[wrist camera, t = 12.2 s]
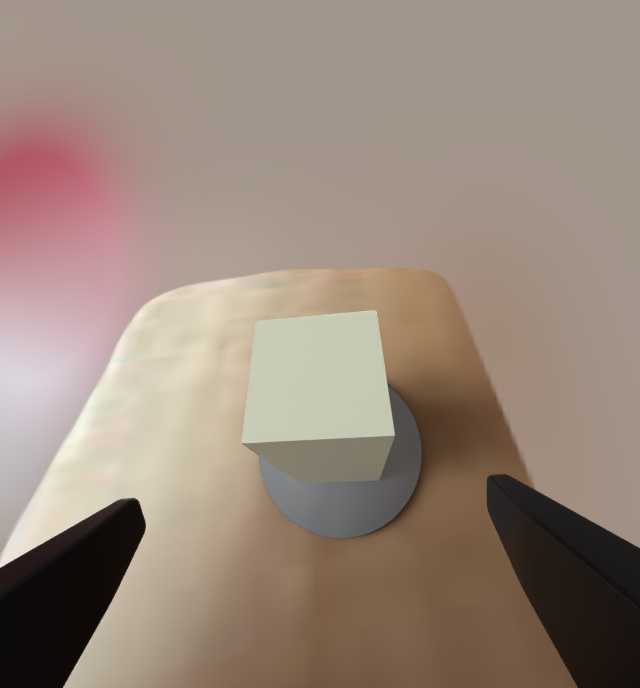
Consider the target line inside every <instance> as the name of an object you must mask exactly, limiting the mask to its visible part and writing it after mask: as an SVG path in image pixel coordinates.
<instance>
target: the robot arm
mask: <svg viewBox="0 0 640 688" xmlns="http://www.w3.org/2000/svg"><path fill="white" fill-rule="evenodd" d="M487 508H488V512H489V515H490V517H491V519H492V522H493V524H494V526H495V528H496V531H497V533H498V535H499V537H500V540H501V542H502V544H503V546H504V549H505V551H506V553H507V555H508V557H509V560H510V562H511V564H512V566H513V569H514V571H515V573H516V575H517V577H518V580H519V582H520V584H521V586H522V588H523V590H524V592H525V594H526V595H527V597H528V599H529V601H530V603H531V605H532V606H533V608H534V610H535V612H536V614H537V615H538V617H539V619H540V621H541V623H542V624H543V626H544V628H545V630H546V632H547V633H548V635H549V637H550V639H551V640H552V642H553V644H554V646H555V648H556V649H557V651H558V653H559V655H560V657H561V658H562V660H563V662H564V664H565V666H566V667H567V669H568V671H569V673H570V674H571V676H572V678H573V680H574V682H575V683H576V685H577V687H578V688H640V548H639V547H636V546H635V545H633V544H631V543H629V542H628V541H626V540H624V539H622V538H621V537H619V536H617V535H615V534H613V533H612V532H610V531H608V530H606V529H604V528H603V527H601V526H599V525H597V524H595V523H594V522H592V521H590V520H588V519H586V518H585V517H583V516H581V515H579V514H577V513H576V512H574V511H572V510H570V509H568V508H566V507H565V506H563V505H561V504H559V503H557V502H556V501H554V500H552V499H550V498H548V497H547V496H545V495H543V494H541V493H540V492H538V491H536V490H534V489H532V488H531V487H529V486H527V485H525V484H523V483H522V482H520V481H518V480H516V479H514V478H513V477H511V476H509V475H506V474H498V475H490V476H488V478H487ZM145 528H146V523H145V519H144V516H143V513H142V509H141V506H140V503H139V501H138V500H137V499H135V498H127V499H120V500H118V501H116V502H114V503H112V504H111V505H109V506H107V507H105V508H104V509H102V510H100V511H98V512H97V513H95V514H93V515H91V516H90V517H88V518H86V519H85V520H83V521H81V522H79V523H78V524H76V525H74V526H72V527H71V528H69V529H67V530H65V531H64V532H62V533H60V534H58V535H57V536H55V537H53V538H51V539H50V540H48V541H46V542H44V543H43V544H41V545H39V546H37V547H36V548H34V549H32V550H30V551H29V552H27V553H25V554H23V555H22V556H20V557H18V558H17V559H15V560H13V561H11V562H10V563H8V564H6V565H4V566H3V567H1V568H0V688H63V686H64V685H65V683H66V681H67V679H68V678H69V676H70V674H71V672H72V671H73V669H74V667H75V665H76V664H77V662H78V660H79V658H80V656H81V655H82V653H83V651H84V649H85V648H86V646H87V644H88V642H89V641H90V639H91V637H92V635H93V634H94V632H95V630H96V628H97V627H98V625H99V623H100V621H101V620H102V618H103V616H104V614H105V612H106V611H107V609H108V607H109V605H110V603H111V601H112V600H113V598H114V596H115V594H116V592H117V590H118V588H119V585H120V583H121V581H122V579H123V577H124V575H125V573H126V571H127V569H128V567H129V564H130V562H131V560H132V558H133V556H134V554H135V552H136V550H137V548H138V546H139V543H140V541H141V539H142V537H143V535H144V533H145Z"/></svg>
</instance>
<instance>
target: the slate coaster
mask: <svg viewBox="0 0 640 688" xmlns="http://www.w3.org/2000/svg"><path fill="white" fill-rule="evenodd" d="M387 386H388V385H387ZM388 392H389V399H390V406H391V412H392V419H393V425H394V432H395V437H394V440H393V443H392V446H391V448H390V451H389V454H388V457H387V460H386V463H385V465H384V468H383V471H382V474H381V477H380V480H379V481H354V482H327V483H299V482H298V481H296V480H295V479H293V478H292V477H290V476H289V475H288V474H286V473H285V472H283V471H282V470H280V469H279V468H277V467H276V466H274V465H273V464H271V463H270V462H268V461H267V460H265V459H264V458H262V457H261V456H259V462H260V469H261V474H262V477H263V481H264V484H265V486H266V488H267V491H268V493H269V495H270V496H271V498H272V500H273V501H274V503H275V504H276V505H277V507H278V508H279V509H280V510H281V512H282V513H283V514H284V515H285V516H287V517H288V518H289V519H290V520H291V521H292V522H294V523H295V524H297V525H298V526H300V527H301V528H303V529H305V530H307V531H309V532H311V533H315V534H318V535H321V536H325V537H332V538H350V537H356V536H361V535H364V534H367V533H370V532H373V531H375V530H376V529H378V528H380V527H382V526H384V525H385V524H386V523H388V522H389V521H391V520H392V519H393V518H394V517H395V516H396V515H397V514H398V513H399V512H400V511H401V510H402V509H403V507H404V506H405V505H406V503H407V502H408V501H409V499H410V497H411V495H412V493H413V491H414V489H415V487H416V484H417V481H418V478H419V474H420V469H421V460H422V448H421V440H420V434H419V431H418V428H417V424H416V422H415V420H414V417H413V415H412V413H411V411H410V410H409V408H408V407H407V405H406V403H405V402H404V401H403V400H402V399H401V397H400V396H399V395H398V394H397V393H396V392H395V391H394V390H393V389H392V388H390V387H389V386H388Z"/></svg>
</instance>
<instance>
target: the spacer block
mask: <svg viewBox="0 0 640 688" xmlns="http://www.w3.org/2000/svg"><path fill="white" fill-rule="evenodd" d="M394 437H395V432H394V425H393V419H392V412H391V406H390V399H389V392H388V386H387V379H386V372H385V366H384V359H383V352H382V346H381V339H380V333H379V326H378V319H377V313H376V310H371V311H360V312H349V313H338V314H327V315H316V316H305V317H294V318H283V319H272V320H262V321H256V323H255V332H254V340H253V349H252V357H251V366H250V374H249V383H248V391H247V400H246V408H245V417H244V426H243V434H242V444H243V445H245V446H246V447H247V448H249V449H250V450H252V451H253V452H255V453H256V454H258V455H259V456H261V457H262V458H264V459H265V460H267V461H268V462H270V463H271V464H273V465H274V466H276V467H277V468H279V469H280V470H282V471H283V472H285V473H286V474H288V475H289V476H290V477H292V478H293V479H295V480H296V481H298V482H299V483H327V482H354V481H379V480H380V477H381V474H382V471H383V468H384V465H385V463H386V460H387V457H388V454H389V451H390V448H391V446H392V443H393V440H394Z"/></svg>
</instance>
